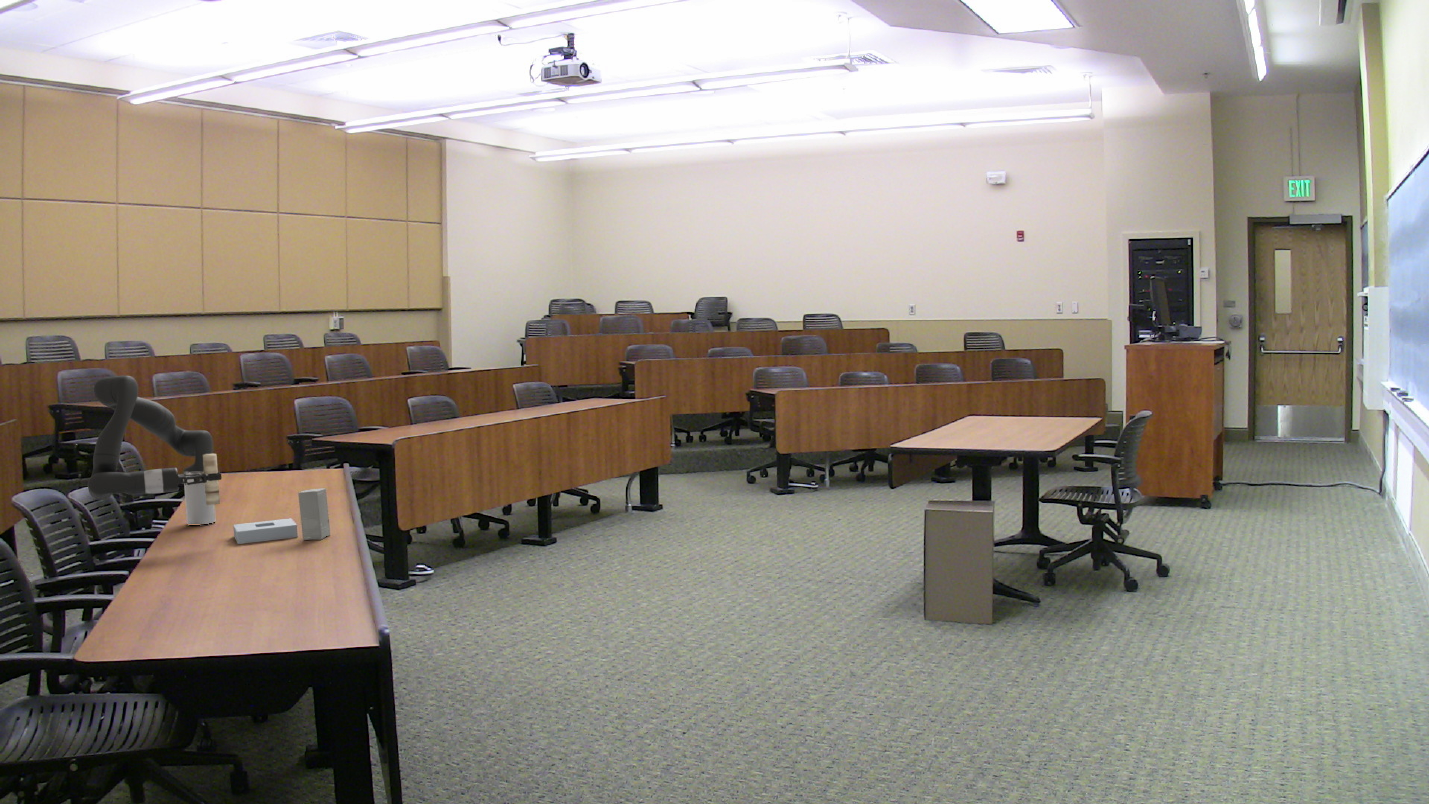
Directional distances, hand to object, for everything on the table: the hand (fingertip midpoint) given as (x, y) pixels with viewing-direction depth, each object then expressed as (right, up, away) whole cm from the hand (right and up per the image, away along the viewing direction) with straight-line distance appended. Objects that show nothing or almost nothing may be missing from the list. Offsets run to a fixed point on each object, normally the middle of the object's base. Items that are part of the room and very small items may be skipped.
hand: (220, 475), depth 347 cm
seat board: (+11, -21, +8) cm, 25 cm away
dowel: (-2, -9, -1) cm, 9 cm away
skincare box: (+29, -21, +4) cm, 36 cm away
